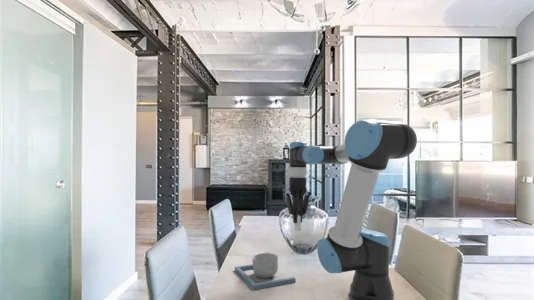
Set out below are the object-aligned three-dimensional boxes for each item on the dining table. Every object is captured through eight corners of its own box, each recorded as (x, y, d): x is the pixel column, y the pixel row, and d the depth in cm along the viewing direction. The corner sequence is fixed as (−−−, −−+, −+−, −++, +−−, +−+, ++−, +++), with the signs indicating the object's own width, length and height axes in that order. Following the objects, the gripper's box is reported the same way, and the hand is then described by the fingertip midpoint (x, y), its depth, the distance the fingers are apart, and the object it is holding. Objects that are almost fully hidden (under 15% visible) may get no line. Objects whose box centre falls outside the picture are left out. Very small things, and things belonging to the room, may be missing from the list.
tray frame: (295, 282, 126) (295, 278, 126) (253, 289, 119) (253, 285, 119) (272, 264, 146) (272, 261, 146) (234, 270, 138) (234, 266, 138)
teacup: (273, 282, 126) (273, 261, 126) (248, 278, 130) (248, 258, 130) (282, 270, 139) (282, 251, 140) (259, 267, 143) (259, 249, 143)
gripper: (305, 176, 147) (305, 227, 146) (280, 176, 141) (280, 229, 141) (315, 177, 140) (314, 230, 140) (289, 177, 135) (288, 233, 134)
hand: (297, 230), depth 140 cm, fingers closed
